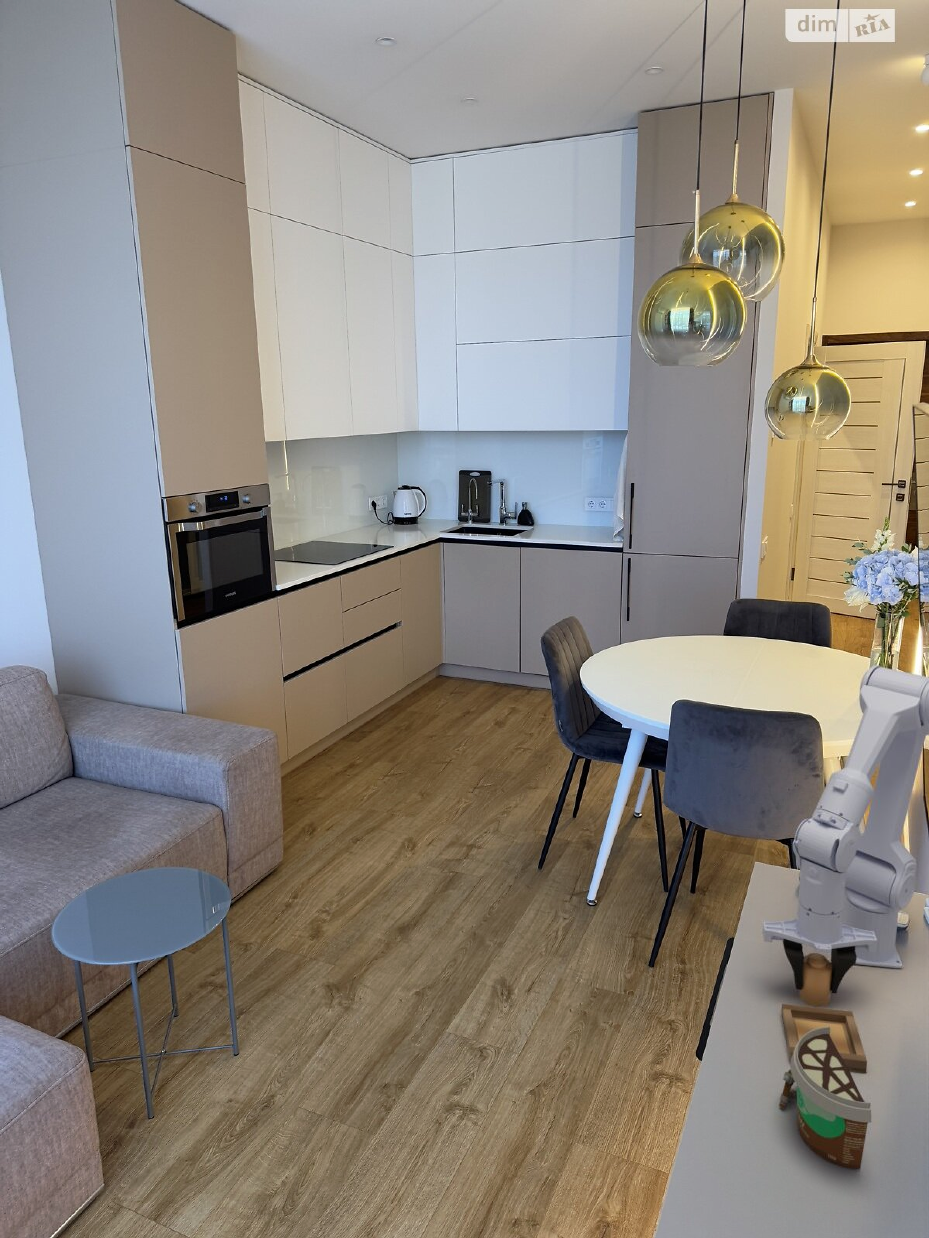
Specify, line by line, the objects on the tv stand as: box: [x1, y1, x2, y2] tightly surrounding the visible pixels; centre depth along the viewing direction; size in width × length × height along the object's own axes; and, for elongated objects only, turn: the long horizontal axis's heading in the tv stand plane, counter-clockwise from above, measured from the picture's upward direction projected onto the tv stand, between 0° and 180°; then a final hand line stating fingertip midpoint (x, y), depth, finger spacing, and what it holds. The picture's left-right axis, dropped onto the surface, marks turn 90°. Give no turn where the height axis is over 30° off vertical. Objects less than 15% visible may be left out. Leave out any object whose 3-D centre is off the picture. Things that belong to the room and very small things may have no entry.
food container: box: [789, 1027, 872, 1170], centre depth 97 cm, size 12×6×10 cm, turn 178°
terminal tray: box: [781, 1003, 868, 1074], centre depth 112 cm, size 9×9×2 cm
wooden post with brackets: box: [778, 1068, 797, 1109], centre depth 104 cm, size 2×8×4 cm, turn 132°
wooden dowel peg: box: [798, 952, 832, 1008], centre depth 120 cm, size 4×4×6 cm
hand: (815, 986), depth 120 cm, fingers closed on wooden dowel peg, 4 cm apart
